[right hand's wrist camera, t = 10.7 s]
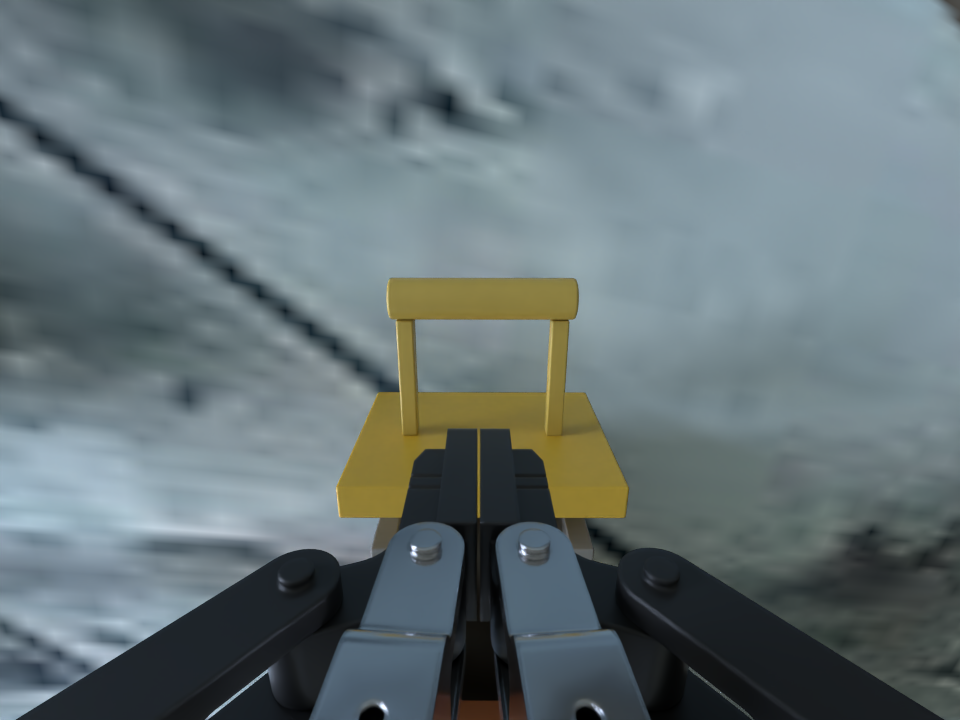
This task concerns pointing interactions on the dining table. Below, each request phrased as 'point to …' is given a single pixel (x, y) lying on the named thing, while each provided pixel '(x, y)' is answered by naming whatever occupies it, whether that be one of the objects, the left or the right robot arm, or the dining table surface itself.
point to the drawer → (529, 415)
